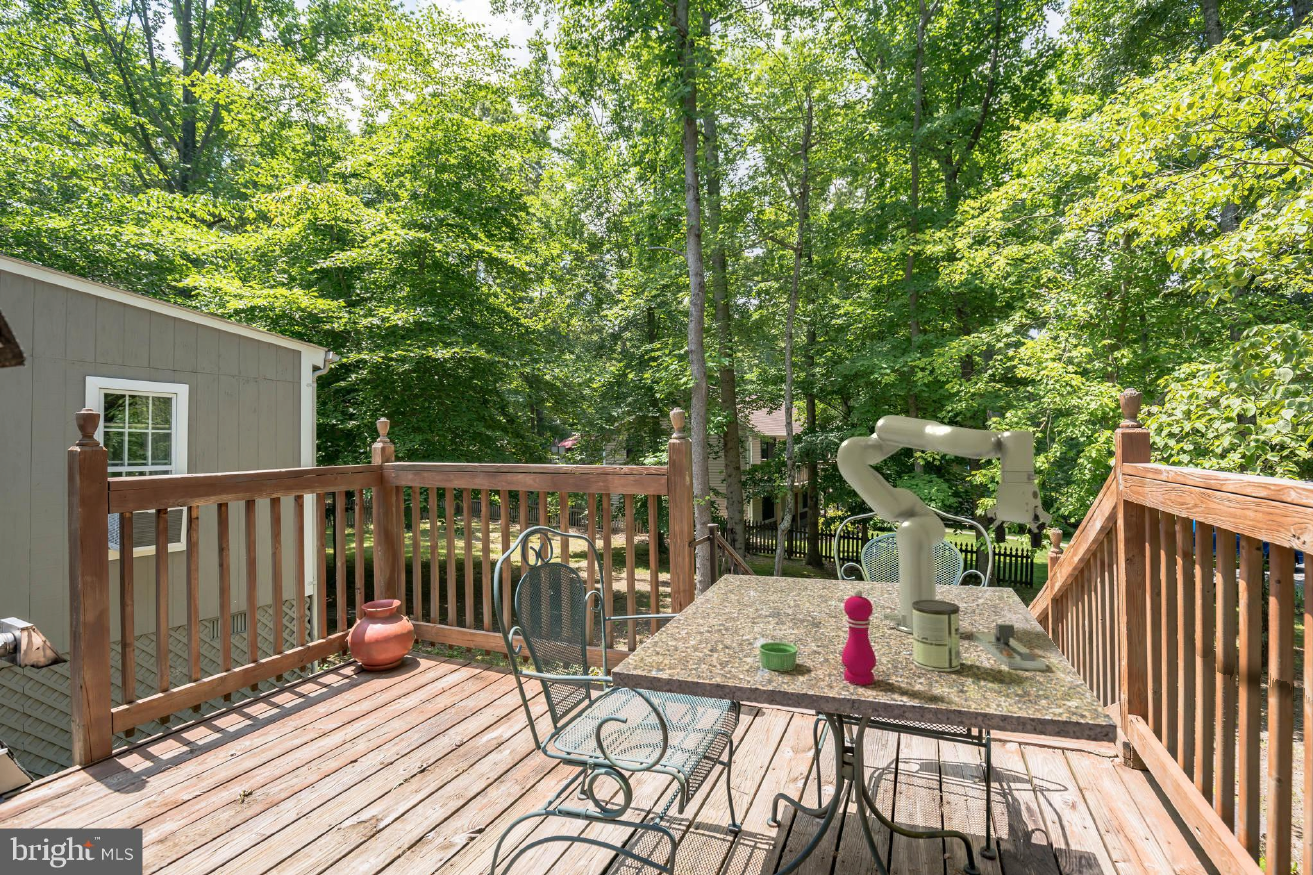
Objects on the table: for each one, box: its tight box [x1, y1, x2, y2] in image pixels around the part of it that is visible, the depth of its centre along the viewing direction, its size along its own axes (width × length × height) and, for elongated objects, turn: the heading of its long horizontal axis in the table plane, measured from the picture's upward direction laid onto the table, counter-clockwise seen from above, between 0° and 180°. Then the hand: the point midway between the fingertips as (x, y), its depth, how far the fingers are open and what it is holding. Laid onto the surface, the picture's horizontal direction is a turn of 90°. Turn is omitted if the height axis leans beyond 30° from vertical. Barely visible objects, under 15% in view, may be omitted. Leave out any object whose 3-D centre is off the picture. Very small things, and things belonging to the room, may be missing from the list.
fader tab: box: [995, 622, 1015, 643], centre depth 163 cm, size 4×2×5 cm, turn 83°
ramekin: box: [758, 641, 799, 671], centre depth 153 cm, size 9×9×4 cm
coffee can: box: [912, 599, 961, 673], centre depth 153 cm, size 10×10×14 cm
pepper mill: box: [841, 588, 877, 686], centre depth 143 cm, size 7×7×20 cm
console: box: [972, 632, 1046, 671], centre depth 161 cm, size 8×23×4 cm, turn 173°
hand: (1017, 545), depth 167 cm, fingers open, 9 cm apart
